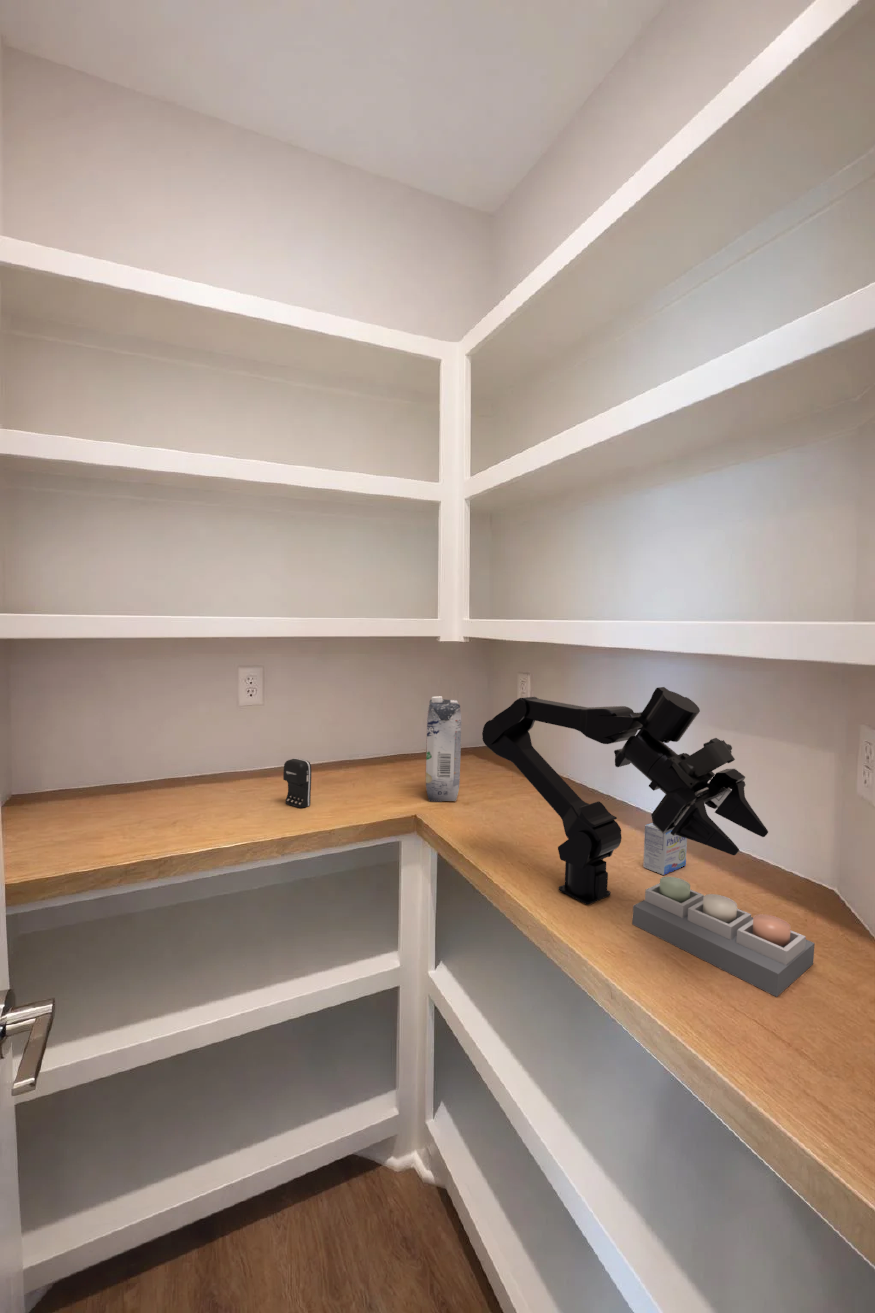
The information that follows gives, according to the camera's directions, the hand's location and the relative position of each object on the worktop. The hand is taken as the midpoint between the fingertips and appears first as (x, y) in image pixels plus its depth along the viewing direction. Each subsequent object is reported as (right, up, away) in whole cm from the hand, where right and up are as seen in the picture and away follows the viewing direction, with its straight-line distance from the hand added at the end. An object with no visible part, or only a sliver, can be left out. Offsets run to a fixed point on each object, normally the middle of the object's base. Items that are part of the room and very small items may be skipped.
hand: (752, 843), depth 75 cm
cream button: (-1, -13, +6) cm, 14 cm away
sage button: (-5, -12, +12) cm, 18 cm away
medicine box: (+1, -16, +33) cm, 36 cm away
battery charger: (-78, -12, +62) cm, 101 cm away
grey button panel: (-1, -17, +7) cm, 18 cm away
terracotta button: (+3, -13, +1) cm, 13 cm away
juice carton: (-42, -12, +73) cm, 85 cm away
